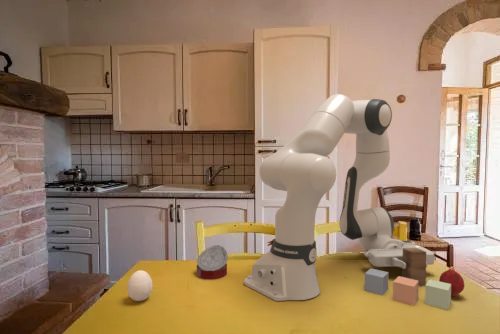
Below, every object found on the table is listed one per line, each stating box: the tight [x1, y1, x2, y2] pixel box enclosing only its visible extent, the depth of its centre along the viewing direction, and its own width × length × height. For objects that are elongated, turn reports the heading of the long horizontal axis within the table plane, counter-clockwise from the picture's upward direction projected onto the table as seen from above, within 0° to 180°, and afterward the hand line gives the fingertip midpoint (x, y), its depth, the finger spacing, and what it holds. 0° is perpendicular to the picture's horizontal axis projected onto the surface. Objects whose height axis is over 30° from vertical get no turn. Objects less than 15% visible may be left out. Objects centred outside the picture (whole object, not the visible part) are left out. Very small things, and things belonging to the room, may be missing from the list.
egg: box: [126, 269, 153, 302], centre depth 83 cm, size 6×6×8 cm
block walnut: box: [401, 248, 427, 287], centre depth 94 cm, size 4×4×10 cm
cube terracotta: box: [392, 276, 420, 306], centre depth 84 cm, size 5×5×5 cm
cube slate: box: [364, 268, 389, 296], centre depth 89 cm, size 5×5×5 cm
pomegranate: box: [438, 266, 465, 297], centre depth 85 cm, size 6×6×8 cm
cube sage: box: [424, 278, 452, 311], centre depth 81 cm, size 5×5×5 cm
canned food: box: [196, 244, 229, 281], centre depth 102 cm, size 11×10×10 cm
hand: (415, 265), depth 93 cm, fingers closed on block walnut, 4 cm apart
